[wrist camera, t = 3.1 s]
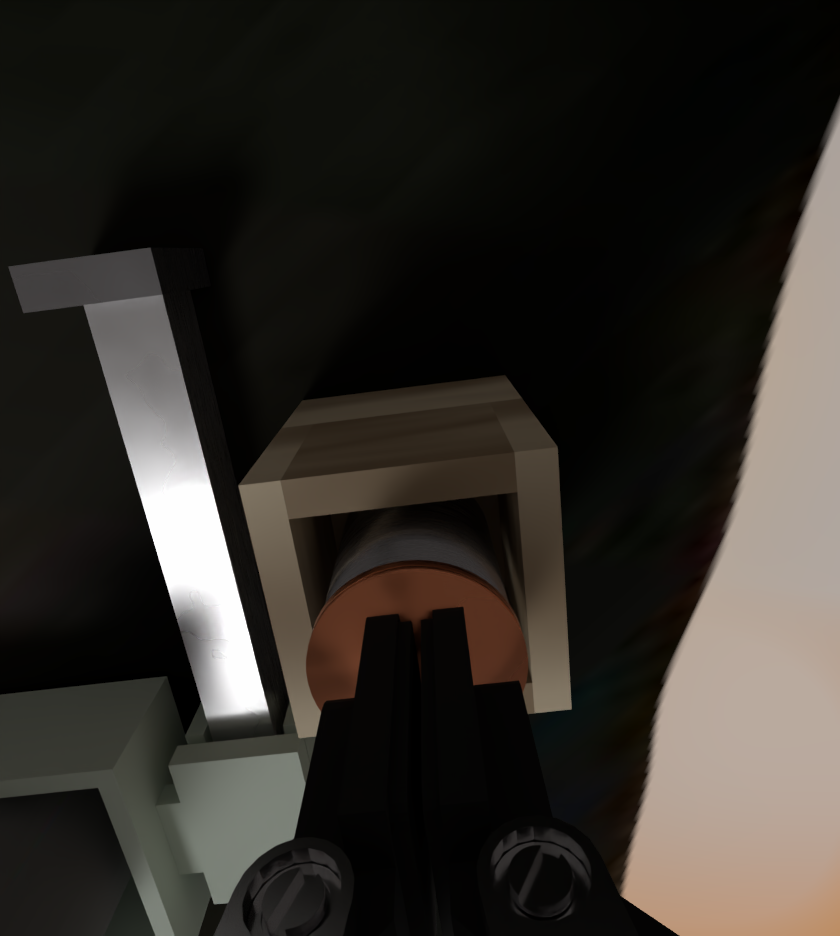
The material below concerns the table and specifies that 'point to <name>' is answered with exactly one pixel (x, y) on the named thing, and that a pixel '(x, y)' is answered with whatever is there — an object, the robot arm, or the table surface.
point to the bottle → (59, 865)
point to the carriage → (159, 790)
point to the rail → (178, 467)
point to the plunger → (415, 592)
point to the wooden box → (406, 483)
